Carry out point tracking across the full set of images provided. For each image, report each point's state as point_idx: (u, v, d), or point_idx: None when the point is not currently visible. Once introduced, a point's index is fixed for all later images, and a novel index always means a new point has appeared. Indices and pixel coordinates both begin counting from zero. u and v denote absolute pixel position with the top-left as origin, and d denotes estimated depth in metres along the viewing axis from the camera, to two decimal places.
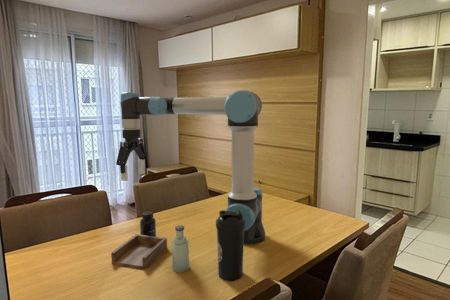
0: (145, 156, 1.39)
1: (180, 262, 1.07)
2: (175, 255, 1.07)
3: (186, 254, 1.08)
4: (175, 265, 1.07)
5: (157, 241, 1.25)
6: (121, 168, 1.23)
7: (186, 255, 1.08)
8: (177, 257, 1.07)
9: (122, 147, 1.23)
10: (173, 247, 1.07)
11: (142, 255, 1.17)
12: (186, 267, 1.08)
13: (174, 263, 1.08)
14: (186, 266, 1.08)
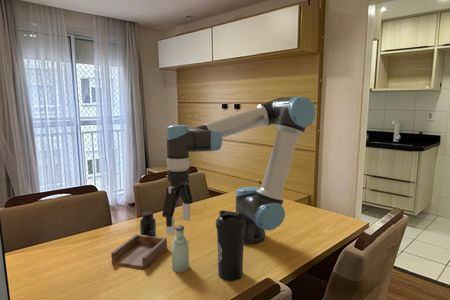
0: (190, 199, 1.15)
1: (180, 262, 1.07)
2: (175, 255, 1.07)
3: (186, 254, 1.08)
4: (175, 265, 1.07)
5: (157, 241, 1.25)
6: (167, 220, 0.99)
7: (186, 255, 1.08)
8: (177, 257, 1.07)
9: (169, 194, 0.99)
10: (173, 247, 1.07)
11: (142, 255, 1.17)
12: (186, 267, 1.08)
13: (174, 263, 1.08)
14: (186, 266, 1.08)
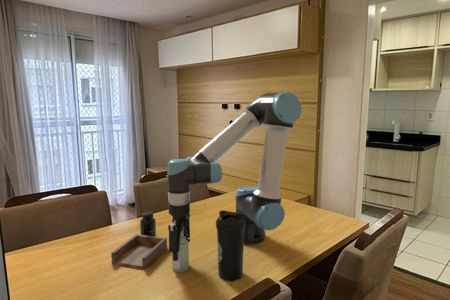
0: (188, 236, 1.14)
1: None
2: None
3: (186, 254, 1.08)
4: None
5: (157, 241, 1.25)
6: (174, 255, 1.05)
7: (186, 255, 1.08)
8: None
9: (172, 232, 1.02)
10: None
11: (142, 255, 1.17)
12: (186, 267, 1.08)
13: None
14: (186, 266, 1.08)
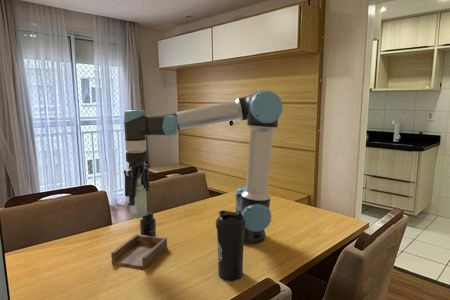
0: (147, 186, 1.20)
1: None
2: None
3: (143, 200, 1.14)
4: None
5: (157, 241, 1.25)
6: (130, 200, 1.11)
7: (143, 201, 1.14)
8: None
9: (127, 177, 1.08)
10: None
11: (142, 255, 1.17)
12: (143, 213, 1.15)
13: None
14: (143, 212, 1.14)
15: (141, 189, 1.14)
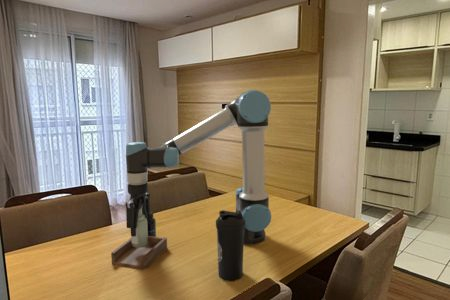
0: (148, 215, 1.22)
1: None
2: None
3: (144, 231, 1.16)
4: None
5: (157, 241, 1.25)
6: (132, 231, 1.13)
7: (144, 231, 1.16)
8: None
9: (129, 209, 1.10)
10: None
11: (142, 255, 1.17)
12: (144, 243, 1.17)
13: None
14: (144, 242, 1.16)
15: (142, 219, 1.16)
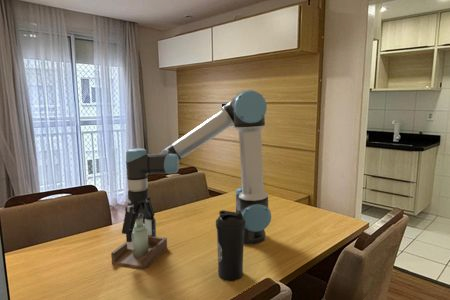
0: (152, 215, 1.25)
1: (139, 248, 1.16)
2: (135, 241, 1.15)
3: (145, 240, 1.17)
4: (135, 250, 1.16)
5: (157, 241, 1.25)
6: (127, 236, 1.10)
7: (145, 241, 1.17)
8: (136, 243, 1.15)
9: (128, 213, 1.09)
10: None
11: None
12: (145, 252, 1.17)
13: None
14: (145, 251, 1.17)
15: (143, 229, 1.16)
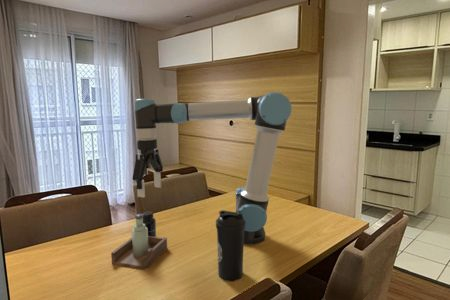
0: (161, 168, 1.27)
1: (139, 248, 1.16)
2: (135, 241, 1.15)
3: (145, 240, 1.17)
4: (135, 250, 1.16)
5: (157, 241, 1.25)
6: (138, 183, 1.11)
7: (145, 241, 1.17)
8: (136, 243, 1.15)
9: (138, 160, 1.11)
10: (133, 234, 1.16)
11: None
12: (145, 252, 1.17)
13: (134, 248, 1.16)
14: (145, 251, 1.17)
15: (143, 229, 1.16)
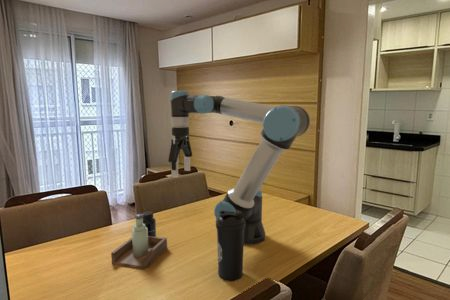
0: (190, 153, 1.42)
1: (139, 248, 1.16)
2: (135, 241, 1.15)
3: (145, 240, 1.17)
4: (135, 250, 1.16)
5: (157, 241, 1.25)
6: (172, 165, 1.26)
7: (145, 241, 1.17)
8: (136, 243, 1.15)
9: (173, 144, 1.26)
10: (132, 234, 1.16)
11: None
12: (145, 252, 1.17)
13: (134, 248, 1.16)
14: (145, 251, 1.17)
15: (143, 229, 1.16)
